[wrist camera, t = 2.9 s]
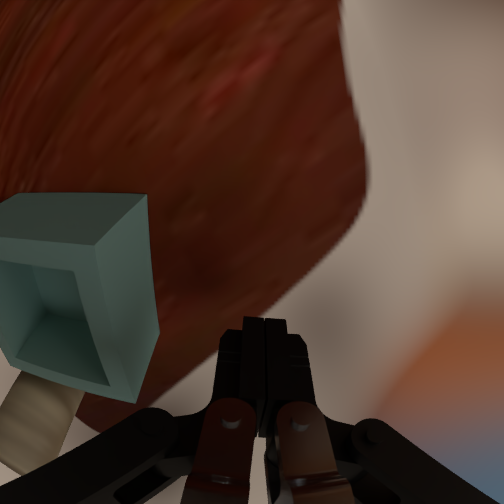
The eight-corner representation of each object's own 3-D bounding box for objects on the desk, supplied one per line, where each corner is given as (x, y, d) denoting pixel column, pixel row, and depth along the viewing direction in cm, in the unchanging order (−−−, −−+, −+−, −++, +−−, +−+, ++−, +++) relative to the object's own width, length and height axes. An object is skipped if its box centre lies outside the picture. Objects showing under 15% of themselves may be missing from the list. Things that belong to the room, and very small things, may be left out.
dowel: (36, 324, 15) (-32, 432, 7) (86, 336, 15) (22, 466, 7) (56, 366, 17) (6, 467, 9) (103, 379, 17) (59, 494, 9)
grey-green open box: (17, 193, 11) (-45, 232, 7) (146, 194, 11) (94, 245, 7) (48, 312, 14) (10, 365, 10) (159, 332, 15) (135, 403, 11)
